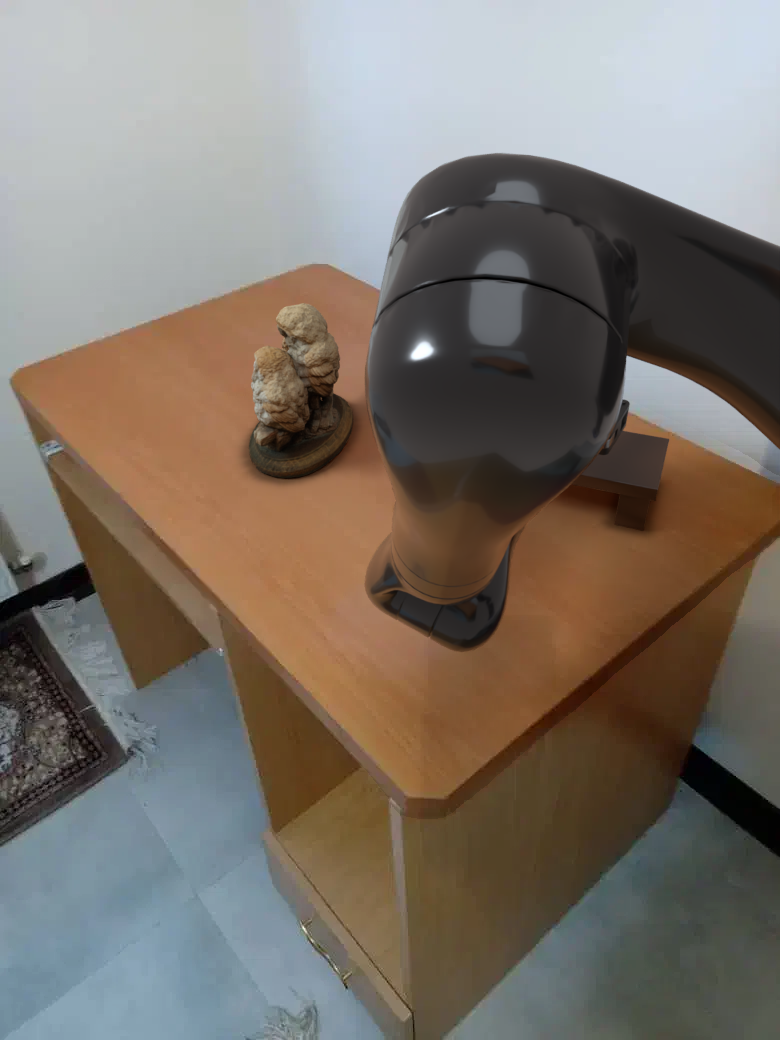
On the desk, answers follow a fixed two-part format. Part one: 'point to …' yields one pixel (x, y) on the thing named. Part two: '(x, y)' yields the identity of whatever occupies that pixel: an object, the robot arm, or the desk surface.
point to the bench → (629, 475)
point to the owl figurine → (298, 398)
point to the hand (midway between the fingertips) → (569, 373)
